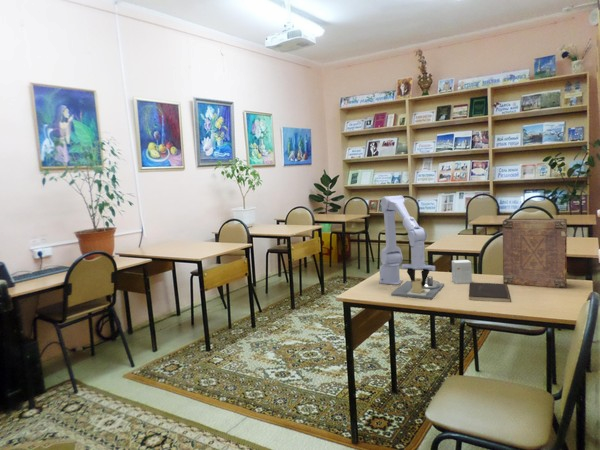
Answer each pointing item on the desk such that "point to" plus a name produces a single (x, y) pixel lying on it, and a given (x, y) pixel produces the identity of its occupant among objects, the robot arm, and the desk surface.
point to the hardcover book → (489, 292)
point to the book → (535, 252)
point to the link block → (417, 285)
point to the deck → (407, 287)
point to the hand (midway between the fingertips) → (418, 285)
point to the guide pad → (419, 293)
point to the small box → (461, 271)
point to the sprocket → (431, 283)
